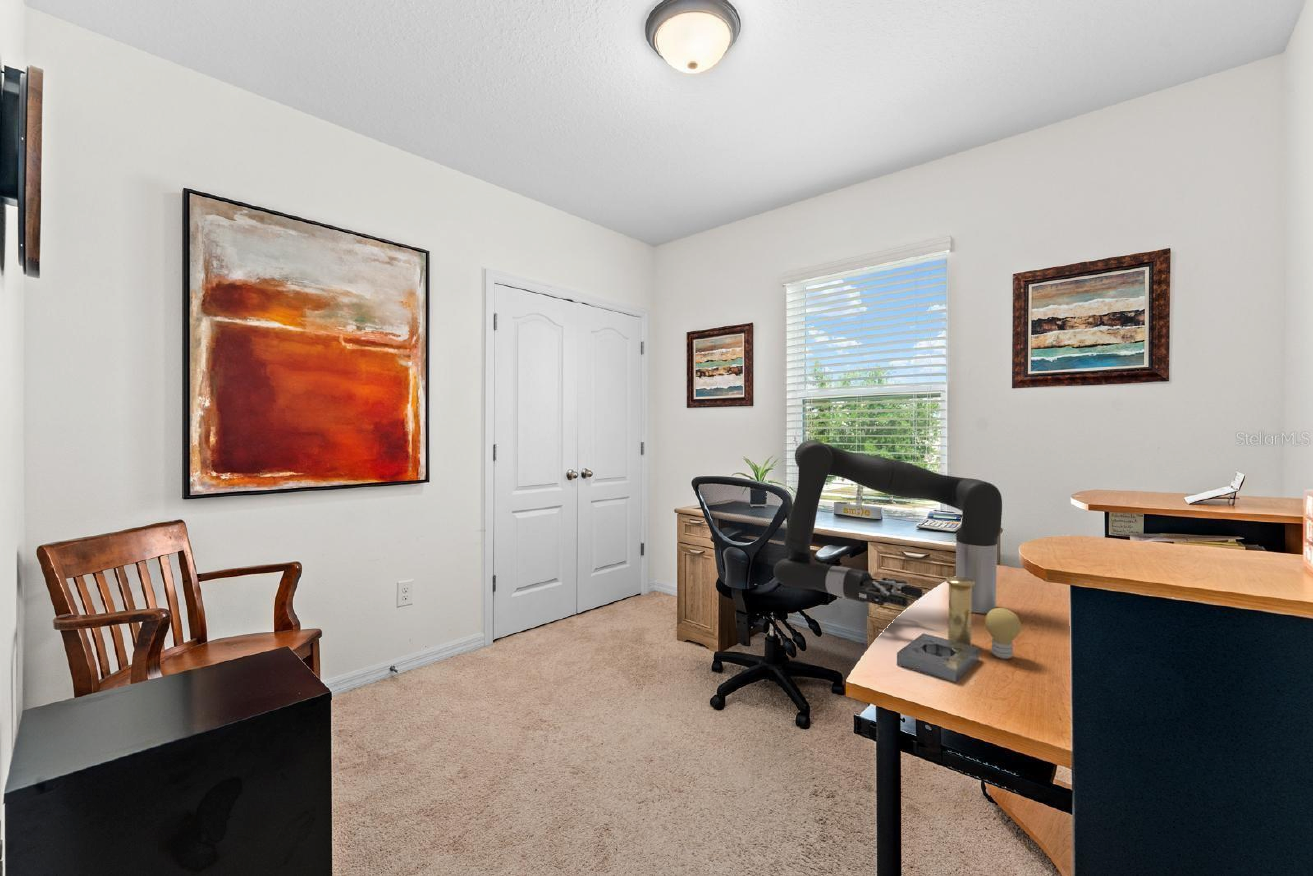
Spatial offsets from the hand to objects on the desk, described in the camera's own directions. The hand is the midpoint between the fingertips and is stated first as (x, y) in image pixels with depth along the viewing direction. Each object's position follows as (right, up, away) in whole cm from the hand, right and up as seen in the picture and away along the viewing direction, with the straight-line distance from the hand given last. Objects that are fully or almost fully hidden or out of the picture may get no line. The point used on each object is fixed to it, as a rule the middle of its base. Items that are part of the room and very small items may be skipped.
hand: (914, 597), depth 131 cm
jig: (-2, -9, -16) cm, 18 cm away
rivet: (+7, -8, -7) cm, 12 cm away
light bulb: (+12, -9, -13) cm, 20 cm away
